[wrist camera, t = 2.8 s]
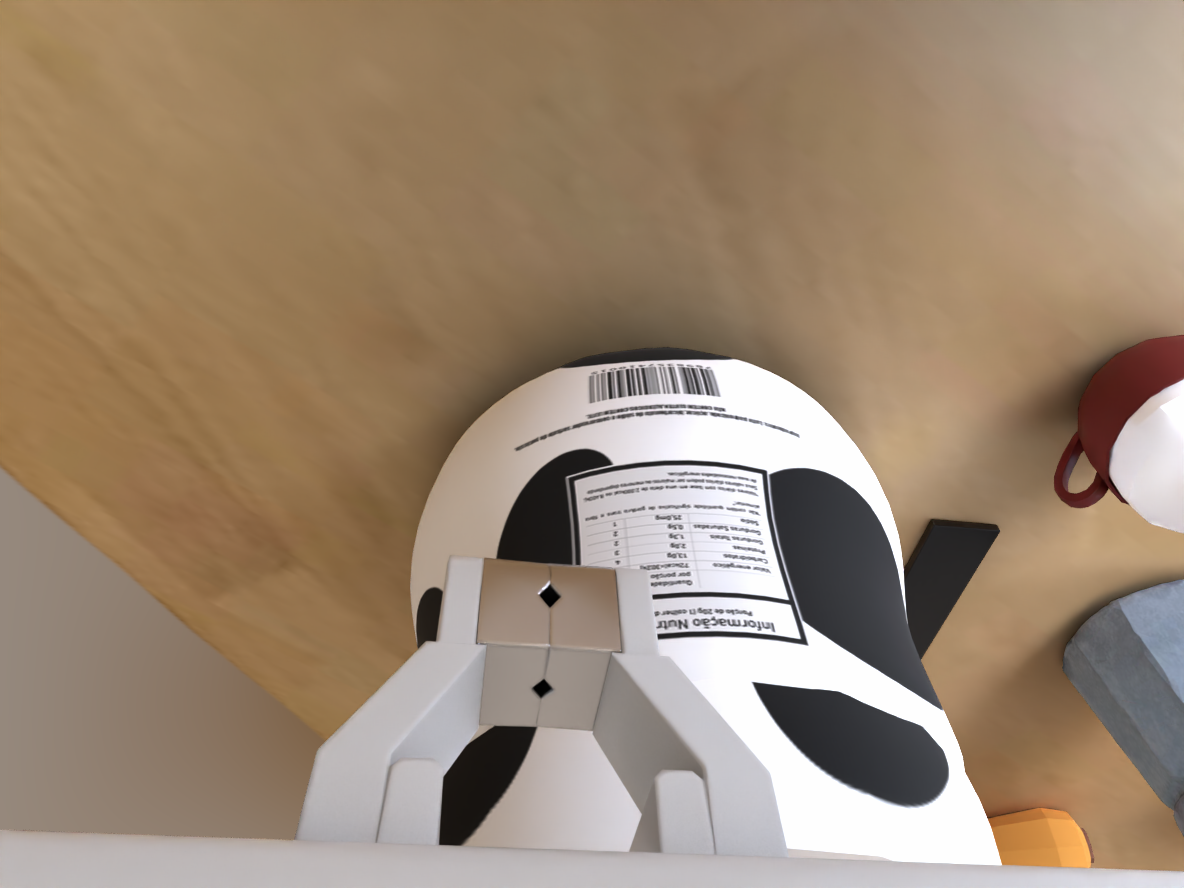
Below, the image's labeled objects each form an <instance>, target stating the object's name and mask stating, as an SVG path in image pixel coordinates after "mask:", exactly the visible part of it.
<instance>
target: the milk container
mask: <svg viewBox="0 0 1184 888" xmlns="http://www.w3.org/2000/svg"><path fill="white" fill-rule="evenodd" d="M450 555H458V556H468V557H477V558H483V565H484V558H494V559H505V560H515V561H525V562H535V563H545V564H549V563H552V564H568V565H583V566H599V567H612V568H613V569H614V568H629V569H644V570H647V572H648V573H649V575H650V582H651V590H652V598H653V606H654V614H655V622H656V630H657V637H658V645H659V653H660V656H669V657H670V658H671V659H672V660H673V661H674V662H675V664H676V665H677V666H678V667H679V668H680V669H681V670H682V672H683V673H684V674H685V675H686V676H687V677H688V679H689V680H690V681H691V682H692V683H693V684H694V685H695V687H696V688H697V689H698V690H699V691H700V692H701V694H702V695H703V696H704V697H705V698H706V699H707V700H708V702H709V703H710V704H711V705H712V706H713V707H714V708H715V710H716V711H717V712H718V713H719V714H720V715H721V717H722V718H723V719H724V720H725V721H726V722H727V723H728V725H729V726H730V727H731V728H732V729H733V730H734V732H735V733H736V734H737V735H738V736H739V737H740V738H741V740H742V741H743V742H744V743H745V744H746V745H747V746H748V748H749V749H750V750H751V751H752V752H753V753H754V755H755V756H756V757H757V758H758V759H759V760H760V761H761V763H762V764H763V765H764V766H765V767H766V768H767V770H768V771H769V772H770V774H771V778H772V783H773V787H774V792H775V796H776V801H777V805H778V810H779V814H780V819H781V823H782V828H783V832H784V837H785V841H786V846H787V850H788V855H789V857H793V858H821V859H849V860H878V861H906V862H934V863H962V864H990V865H1002V864H1001V861H1000V857H999V854H998V850H997V847H996V843H995V840H994V837H993V833H992V830H991V827H990V824H989V822H988V820H987V817H986V815H985V812H984V810H983V807H982V805H981V802H980V800H979V798H978V796H977V794H976V792H975V791H974V789H973V787H972V785H971V783H970V781H969V779H968V777H967V776H966V774H965V771H964V764H963V757H962V754H961V751H960V748H959V745H958V742H957V740H956V738H955V735H954V733H953V731H952V728H951V726H950V724H949V722H948V719H947V717H946V715H945V713H944V710H943V708H942V706H941V704H940V702H939V700H938V697H937V695H936V693H935V691H934V689H933V687H932V684H931V682H930V680H929V678H928V676H927V673H926V671H925V669H924V667H923V665H922V662H921V660H920V658H919V655H918V653H917V650H916V648H915V645H914V643H913V640H912V637H911V633H910V630H909V627H908V622H907V615H906V605H905V590H904V572H903V562H902V554H901V547H900V542H899V536H898V532H897V529H896V526H895V522H894V519H893V516H892V513H891V509H890V506H889V503H888V501H887V499H886V497H885V495H884V493H883V491H882V488H881V486H880V484H879V482H878V480H877V478H876V476H875V474H874V473H873V471H872V469H871V468H870V466H869V465H868V463H867V461H866V460H865V458H864V457H863V455H862V454H861V452H860V451H859V449H858V448H857V446H856V445H855V444H854V443H853V441H852V440H851V439H850V438H849V436H848V435H847V434H846V433H845V432H844V430H843V429H842V428H841V427H840V425H839V424H838V423H837V422H836V421H835V420H834V419H833V418H832V416H831V415H830V414H829V413H828V412H827V411H826V410H825V409H824V408H823V407H822V406H821V405H820V404H819V403H818V402H816V401H815V400H814V399H813V398H811V397H810V396H809V395H808V394H806V393H805V392H804V391H802V390H801V389H799V388H798V387H796V386H795V385H793V384H791V383H790V382H788V381H786V380H785V379H783V378H781V377H779V376H777V375H775V374H773V373H771V372H769V371H766V370H764V369H762V368H759V367H757V366H754V365H752V364H750V363H747V362H745V361H741V360H737V359H734V358H730V357H726V356H721V355H715V354H710V353H705V352H699V351H694V350H688V349H679V348H670V347H663V348H644V349H636V350H627V351H619V352H611V353H604V354H599V355H594V356H589V357H585V358H582V359H579V360H576V361H573V362H571V363H568V364H565V365H563V366H561V367H559V368H556V369H554V370H552V371H550V372H548V373H545V374H543V375H541V376H539V377H536V378H534V379H532V380H530V381H528V382H526V383H525V384H523V385H521V386H519V387H517V388H515V389H514V390H513V391H511V392H510V393H509V394H507V395H506V396H505V397H503V398H502V399H501V400H499V401H498V402H497V403H495V404H494V405H493V406H491V407H490V408H489V409H488V410H487V411H486V412H485V413H483V414H482V415H481V416H480V417H479V418H478V419H477V420H476V421H475V422H474V423H473V424H472V425H471V426H470V427H469V428H468V429H467V431H466V432H465V433H464V434H463V436H462V437H461V438H460V440H459V441H458V442H457V443H456V445H455V447H454V448H453V450H452V452H451V453H450V455H449V456H448V458H447V460H446V462H445V464H444V465H443V467H442V469H441V471H440V473H439V475H438V477H437V480H436V482H435V484H434V486H433V488H432V490H431V492H430V494H429V497H428V499H427V502H426V505H425V508H424V511H423V514H422V517H421V520H420V523H419V526H418V531H417V535H416V540H415V545H414V550H413V555H412V567H411V583H410V592H411V606H412V616H413V623H414V629H415V635H416V641H417V647H418V649H419V648H420V647H421V646H422V645H423V644H424V643H425V642H426V641H433V642H436V638H437V631H438V624H439V617H440V610H441V603H442V596H443V589H444V582H445V575H446V568H447V562H448V559H449V556H450ZM482 575H483V570H482ZM481 586H482V582H481ZM480 596H481V595H480ZM592 733H593V731H584V730H572V729H559V728H546V727H530V726H490V725H479V728H478V730H477V731H476V733H475V734H474V736H473V737H472V738H471V740H470V741H469V742H468V744H467V745H466V746H465V748H464V749H463V751H462V752H461V753H460V755H459V756H458V757H457V759H456V760H455V762H454V763H453V764H452V766H451V767H450V768H449V770H448V771H447V772H446V774H445V775H444V777H443V789H442V804H441V819H440V835H439V845H449V846H477V847H506V848H534V849H562V850H590V851H619V852H629V850H630V847H631V844H632V841H633V838H634V836H635V833H636V830H637V827H638V824H639V821H640V818H641V815H642V814H641V812H640V811H639V809H638V808H637V806H636V804H635V803H634V801H633V799H632V798H631V796H630V795H629V793H628V791H627V790H626V788H625V786H624V785H623V783H622V782H621V780H620V778H619V777H618V775H617V773H616V772H615V770H614V768H613V767H612V765H611V764H610V762H609V760H608V759H607V757H606V755H605V754H604V752H603V751H602V749H601V747H600V746H599V744H598V742H597V741H596V739H595V738H594V736H593V734H592Z"/></svg>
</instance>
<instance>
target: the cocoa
mask: <svg viewBox="0 0 1184 888" xmlns="http://www.w3.org/2000/svg"><path fill="white" fill-rule="evenodd" d="M1083 451H1085V453H1086V455H1087V457H1088V459H1089V461H1090V463H1091V465H1092V466H1093V467H1094V468H1095V470H1096V471H1097V473H1096V476H1095V479H1094V482H1093V483H1092V484H1091V485H1090V487H1089V488H1088V489H1087V490H1085V491H1083V492H1080V493H1077V494H1074V493H1069V492H1068V480H1069V477H1070V475H1071V473H1072V470H1073V468H1074V466H1075V464H1076V462H1077V460H1078V458H1079V456H1080V454H1081V453H1082V452H1083ZM1054 487H1055V491H1056V493H1057V495H1058V496H1059V497H1060V499H1061V500H1062V501H1063V502H1065V503H1066V504H1068V505H1069V506H1070V507H1074V508H1085V507H1089V506H1091V505H1093V504H1095V503H1096V502H1097V501H1099V500H1100V499H1101V498H1102V497H1103V496H1104V495H1105V493H1106V492H1107V490H1108V488H1109V489H1110V490H1111V491H1112V493H1113V494H1114V495H1115V496H1116V497H1117V498H1118V499H1119V500H1120V501H1121V502H1122V503H1125V504H1129V505H1130V506H1131V507H1132V508H1133V509H1134V510H1135V511H1136V512H1137V513H1138V514H1140V515H1141V516H1142V517H1143V518H1144V519H1145V520H1147V521H1148V522H1149V523H1150V524H1153V525H1156V526H1160V527H1163V528H1166V529H1169V530H1173V531H1176V532H1180V533H1184V335H1179V336H1171V337H1162V338H1155V339H1149V340H1145V341H1143V342H1141V343H1139V344H1137V345H1135V346H1133V347H1131V348H1128V349H1126V350H1124V351H1122V352H1120V353H1118V354H1117V355H1115V356H1114V357H1113V358H1112V359H1111V360H1110V361H1109V362H1108V363H1107V364H1105V365H1104V366H1103V367H1102V368H1101V369H1100V370H1099V371H1098V372H1097V373H1096V374H1094V376H1093V377H1092V379H1091V381H1090V383H1089V385H1088V387H1087V388H1086V390H1085V392H1084V394H1083V396H1082V398H1081V400H1080V404H1079V407H1078V431H1077V432H1076V433H1075V434H1074V436H1073V437H1072V439H1071V441H1070V442H1069V444H1068V446H1067V447H1066V449H1065V451H1064V453H1063V454H1062V457H1061V459H1060V461H1059V464H1058V466H1057V470H1056V473H1055V476H1054Z"/></svg>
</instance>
